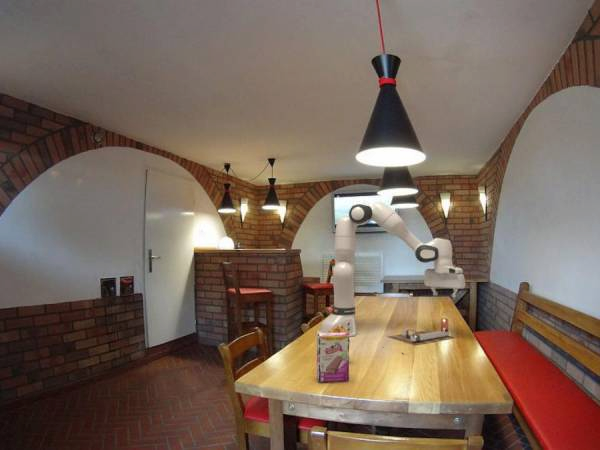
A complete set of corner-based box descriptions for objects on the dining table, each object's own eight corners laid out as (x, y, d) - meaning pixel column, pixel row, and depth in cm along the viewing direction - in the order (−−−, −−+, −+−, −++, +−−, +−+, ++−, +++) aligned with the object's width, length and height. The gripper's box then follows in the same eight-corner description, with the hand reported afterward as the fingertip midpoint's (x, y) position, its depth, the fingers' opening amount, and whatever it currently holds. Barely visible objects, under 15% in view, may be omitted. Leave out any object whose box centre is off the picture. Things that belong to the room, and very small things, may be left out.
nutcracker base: (415, 348, 172) (414, 336, 173) (386, 339, 189) (386, 328, 189) (457, 340, 186) (456, 329, 186) (427, 332, 203) (427, 322, 203)
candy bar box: (319, 383, 130) (318, 336, 131) (316, 378, 135) (316, 332, 136) (349, 381, 132) (349, 335, 133) (346, 376, 137) (345, 331, 138)
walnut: (412, 340, 182) (412, 332, 182) (406, 338, 185) (406, 330, 186) (418, 339, 184) (418, 331, 184) (412, 337, 187) (412, 329, 188)
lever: (415, 342, 175) (414, 324, 176) (409, 340, 179) (409, 323, 179) (450, 335, 187) (450, 319, 188) (444, 334, 190) (444, 318, 191)
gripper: (421, 268, 195) (422, 295, 194) (460, 270, 180) (461, 299, 180) (427, 268, 200) (428, 294, 199) (466, 269, 185) (467, 297, 184)
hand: (444, 296), depth 189 cm, fingers open, 8 cm apart
